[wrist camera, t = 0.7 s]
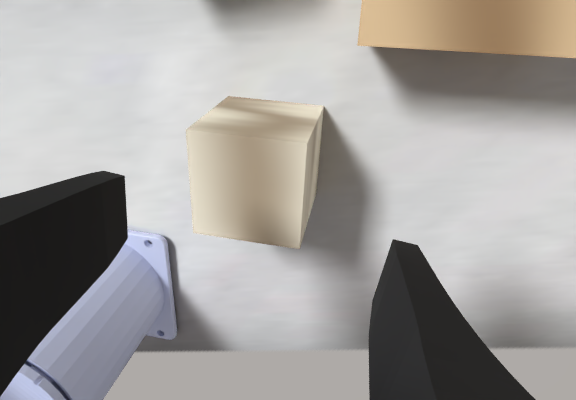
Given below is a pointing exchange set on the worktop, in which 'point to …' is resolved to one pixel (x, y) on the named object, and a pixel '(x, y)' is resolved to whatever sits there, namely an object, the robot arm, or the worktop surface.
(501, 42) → the oak block
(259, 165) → the birch block
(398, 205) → the worktop surface
